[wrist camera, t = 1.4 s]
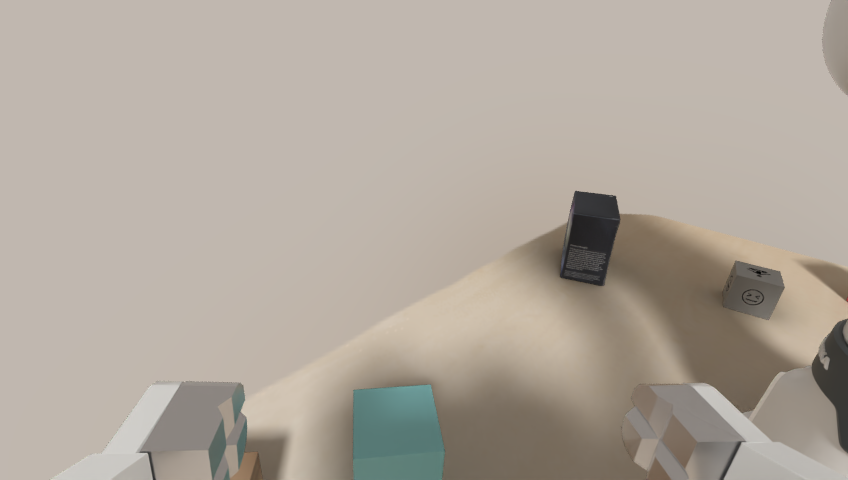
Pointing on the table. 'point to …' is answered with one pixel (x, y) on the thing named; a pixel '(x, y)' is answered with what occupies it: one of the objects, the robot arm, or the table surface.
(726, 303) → the dice cube
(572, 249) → the small box
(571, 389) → the table surface
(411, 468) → the teal pillar
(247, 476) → the walnut base
